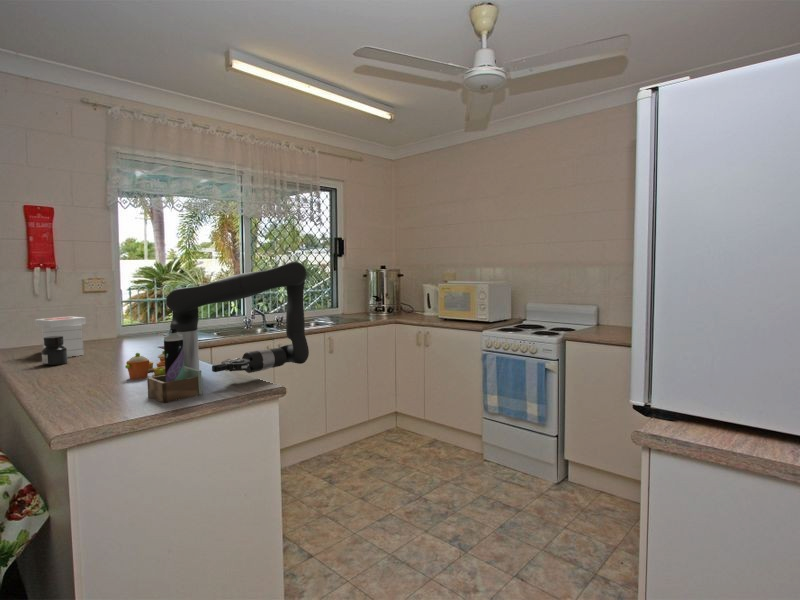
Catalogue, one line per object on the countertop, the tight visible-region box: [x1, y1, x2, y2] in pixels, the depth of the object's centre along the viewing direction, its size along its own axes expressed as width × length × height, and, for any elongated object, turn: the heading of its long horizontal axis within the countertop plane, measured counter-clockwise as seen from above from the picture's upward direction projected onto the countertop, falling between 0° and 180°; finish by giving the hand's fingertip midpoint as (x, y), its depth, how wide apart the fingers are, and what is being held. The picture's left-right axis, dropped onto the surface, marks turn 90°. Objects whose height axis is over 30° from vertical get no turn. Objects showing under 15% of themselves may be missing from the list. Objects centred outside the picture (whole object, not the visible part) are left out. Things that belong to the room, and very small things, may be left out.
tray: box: [184, 366, 203, 395], centre depth 147 cm, size 12×10×7 cm
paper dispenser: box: [34, 315, 87, 358], centre depth 226 cm, size 19×30×18 cm, turn 39°
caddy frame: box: [146, 375, 199, 404], centre depth 146 cm, size 12×10×6 cm
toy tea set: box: [124, 350, 165, 380], centre depth 181 cm, size 26×16×10 cm, turn 19°
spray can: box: [163, 329, 185, 382], centre depth 146 cm, size 6×6×20 cm
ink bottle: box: [41, 336, 69, 367], centre depth 201 cm, size 10×9×12 cm
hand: (213, 368), depth 156 cm, fingers closed
